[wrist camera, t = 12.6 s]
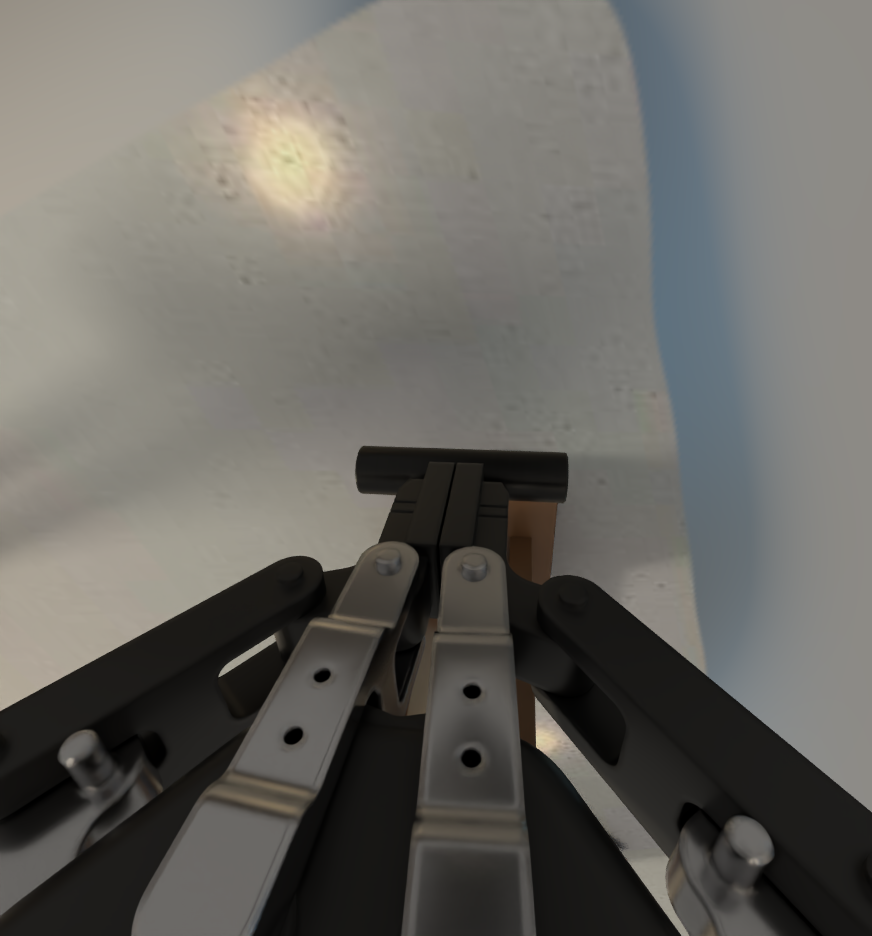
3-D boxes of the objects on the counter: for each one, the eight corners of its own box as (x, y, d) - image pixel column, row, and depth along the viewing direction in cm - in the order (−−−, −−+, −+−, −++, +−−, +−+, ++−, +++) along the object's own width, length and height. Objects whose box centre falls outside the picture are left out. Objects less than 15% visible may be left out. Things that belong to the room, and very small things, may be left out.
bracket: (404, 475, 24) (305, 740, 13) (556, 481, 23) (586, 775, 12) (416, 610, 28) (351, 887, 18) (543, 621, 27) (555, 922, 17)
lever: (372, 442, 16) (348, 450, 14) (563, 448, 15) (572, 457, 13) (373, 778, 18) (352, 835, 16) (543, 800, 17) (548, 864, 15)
